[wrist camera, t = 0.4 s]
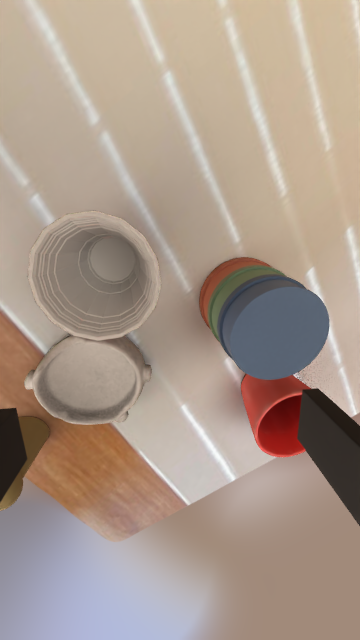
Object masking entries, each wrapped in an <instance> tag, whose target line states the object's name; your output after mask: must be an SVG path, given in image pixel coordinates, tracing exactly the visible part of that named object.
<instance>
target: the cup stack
mask: <svg viewBox="0 0 360 640" xmlns="http://www.w3.org/2000/svg"><path fill="white" fill-rule="evenodd" d="M199 305H200V311H201V314H202V317H203V319H204V321H205V323H206V324H207V326H208V327H209V328H210V329H211V330H212V332H213V334H214V336H215V337H216V338H217V340H218V341H219V342H220V343H221V345H222V346H223V348H224V350H225V352H226V353H227V354H228V355H229V356H230V357H231V358H232V359H233V360H234V361H235V363H236V364H237V366H238V367H239V368H240V369H241V370H242V371H243V372H245V373H246V374H248V375H250V376H252V377H255V378H258V379H264V380H275V379H281V378H285V377H288V376H290V375H293V374H295V373H297V372H299V371H300V370H302V369H303V368H305V367H306V366H307V365H309V364H310V363H311V362H312V361H313V360H314V359H315V358H316V356H317V355H318V354H319V352H320V351H321V349H322V348H323V346H324V344H325V341H326V339H327V336H328V332H329V316H328V312H327V309H326V307H325V305H324V303H323V302H322V300H321V299H320V298H319V297H318V296H317V295H316V294H314V293H313V292H311V291H309V290H307V289H306V288H305V287H304V286H303V285H302V284H300V283H299V282H297V281H296V280H293V279H291V278H289V277H287V276H286V275H284V274H283V273H282V272H280V271H278V270H276V269H274V268H272V267H271V266H269V265H268V264H266V263H264V262H262V261H260V260H257V259H254V258H248V257H241V258H235V259H232V260H229V261H226V262H224V263H223V264H221V265H219V266H218V267H217V268H215V269H214V270H213V271H212V272H211V273H210V275H209V276H208V277H207V279H206V280H205V282H204V284H203V286H202V289H201V292H200V298H199Z"/></svg>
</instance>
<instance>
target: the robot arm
mask: <svg viewBox="0 0 360 640" xmlns="http://www.w3.org/2000/svg"><path fill="white" fill-rule="evenodd" d="M297 439H298V440H299V442H300V443H301V444H302V446H303V447H304V449H305V450H306V451H307V453H308V454H309V456H310V457H311V458H312V460H313V461H314V463H315V464H316V465H317V467H318V468H319V470H320V471H321V472H322V474H323V475H324V477H325V478H326V479H327V481H328V482H329V484H330V485H331V486H332V488H333V489H334V491H335V492H336V493H337V495H338V496H339V498H340V499H341V500H342V502H343V503H344V505H345V506H346V507H347V509H348V510H349V512H350V513H351V514H352V516H353V517H354V519H355V520H356V521H357V523H358V524H359V526H360V426H359V425H358V424H357V423H356V422H355V421H354V420H353V419H351V418H350V417H349V416H348V415H347V414H346V413H345V412H344V411H343V410H342V409H340V408H339V407H338V406H337V405H336V404H335V403H334V402H333V401H332V400H330V399H329V398H328V397H327V396H326V395H325V394H324V393H323V392H321V391H320V390H319V389H303V390H302V399H301V408H300V417H299V426H298V435H297ZM27 459H28V458H27V454H26V449H25V445H24V441H23V436H22V432H21V428H20V423H19V419H18V414H17V410H16V408H10V409H0V502H1V501H2V499H3V497H4V496H5V494H6V493H7V491H8V489H9V488H10V486H11V485H12V483H13V481H14V480H15V478H16V477H17V475H18V473H19V472H20V470H21V469H22V467H23V466H24V464H25V462H26V461H27Z"/></svg>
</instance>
